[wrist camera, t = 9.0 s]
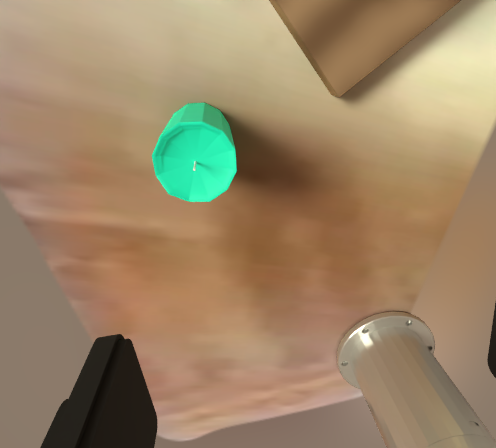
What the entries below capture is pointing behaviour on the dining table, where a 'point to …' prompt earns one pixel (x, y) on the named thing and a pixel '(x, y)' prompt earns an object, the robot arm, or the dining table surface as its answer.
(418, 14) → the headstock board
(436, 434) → the robot arm
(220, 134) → the candle
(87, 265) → the dining table surface
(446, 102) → the dining table surface
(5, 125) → the dining table surface
